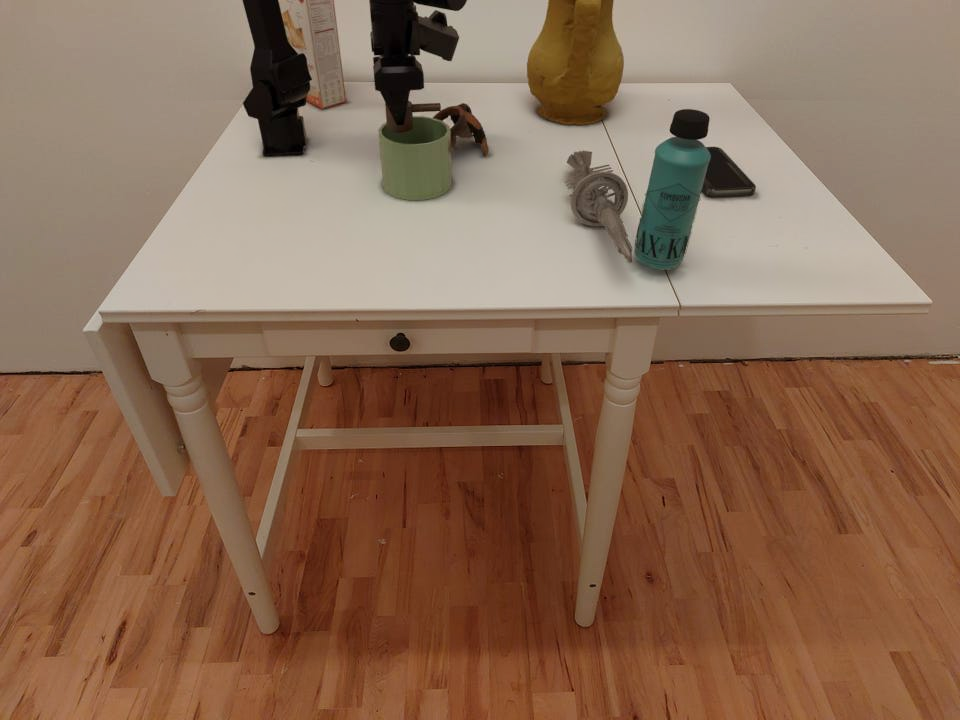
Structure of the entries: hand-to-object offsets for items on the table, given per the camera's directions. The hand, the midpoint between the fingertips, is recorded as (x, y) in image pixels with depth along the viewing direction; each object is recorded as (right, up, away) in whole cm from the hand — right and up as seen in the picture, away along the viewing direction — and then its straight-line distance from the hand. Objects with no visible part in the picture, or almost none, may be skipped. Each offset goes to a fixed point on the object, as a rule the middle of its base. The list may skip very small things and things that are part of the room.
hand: (399, 119), depth 95 cm
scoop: (+2, -1, +1) cm, 2 cm away
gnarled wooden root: (+8, +1, +17) cm, 19 cm away
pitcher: (+28, +11, +29) cm, 42 cm away
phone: (+49, -5, +11) cm, 50 cm away
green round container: (+2, -7, +7) cm, 10 cm away
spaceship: (+28, -16, -1) cm, 32 cm away
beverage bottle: (+34, -23, -9) cm, 42 cm away
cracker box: (-21, +16, +33) cm, 43 cm away
